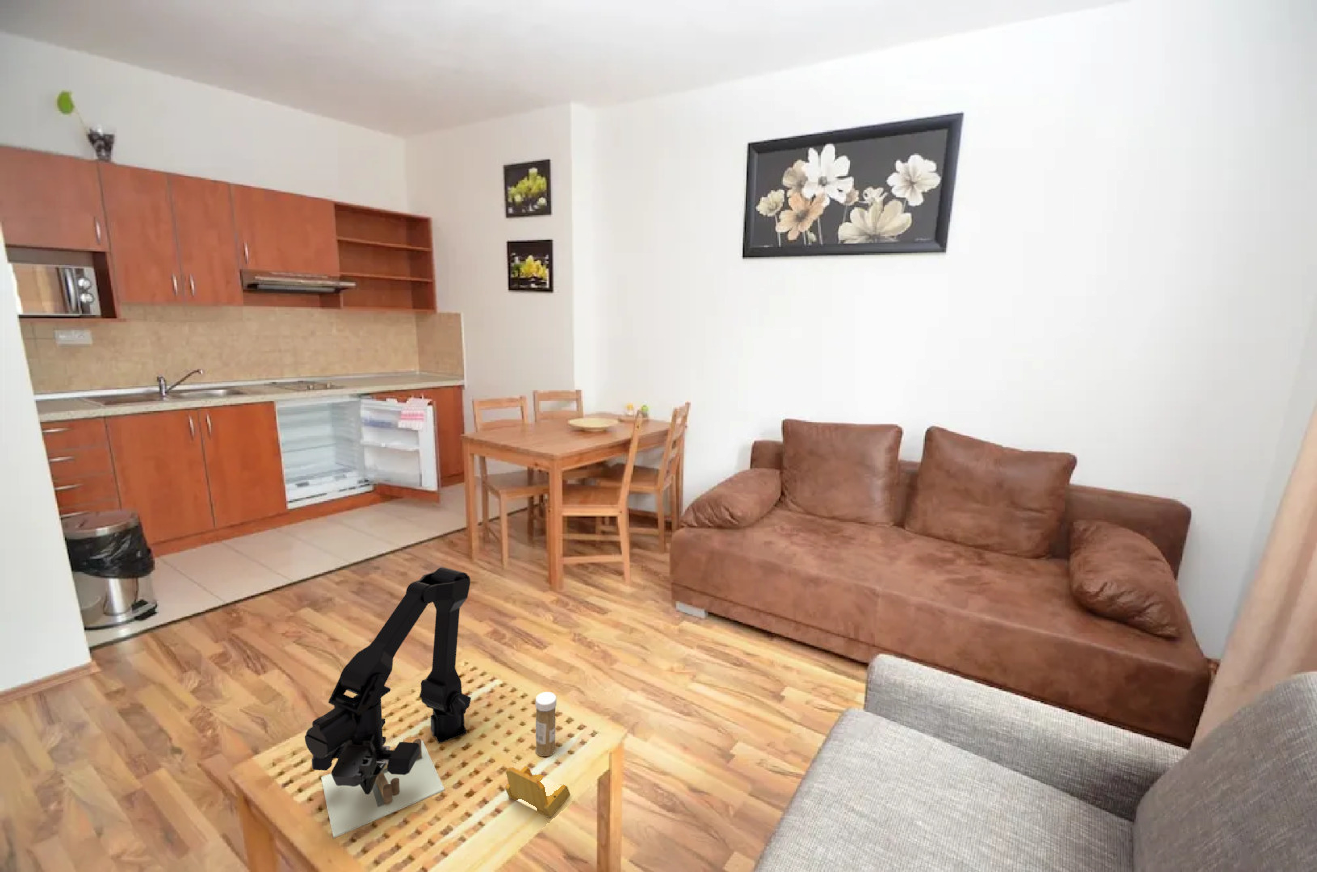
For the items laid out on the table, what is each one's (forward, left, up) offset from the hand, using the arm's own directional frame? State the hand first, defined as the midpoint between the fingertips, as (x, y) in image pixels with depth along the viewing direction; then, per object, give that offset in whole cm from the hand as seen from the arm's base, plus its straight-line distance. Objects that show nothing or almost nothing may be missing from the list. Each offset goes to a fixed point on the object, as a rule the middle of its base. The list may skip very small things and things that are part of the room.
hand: (368, 792), depth 113 cm
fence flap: (-3, 0, -1) cm, 3 cm away
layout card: (-3, -3, -2) cm, 4 cm away
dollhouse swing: (-28, +18, -2) cm, 33 cm away
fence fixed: (-6, -2, -2) cm, 7 cm away
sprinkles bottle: (-35, +7, -2) cm, 36 cm away
